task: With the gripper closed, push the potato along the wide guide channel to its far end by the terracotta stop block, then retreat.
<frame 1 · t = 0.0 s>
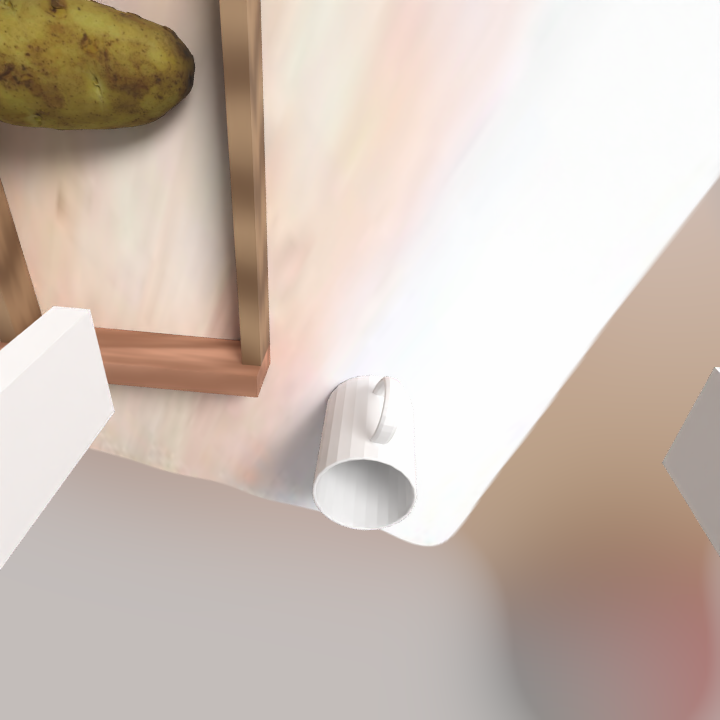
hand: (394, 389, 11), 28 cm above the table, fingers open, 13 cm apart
channel: (117, 161, 36), on the table
mug: (375, 389, 46), on the table
potato: (102, 64, 33), on the table
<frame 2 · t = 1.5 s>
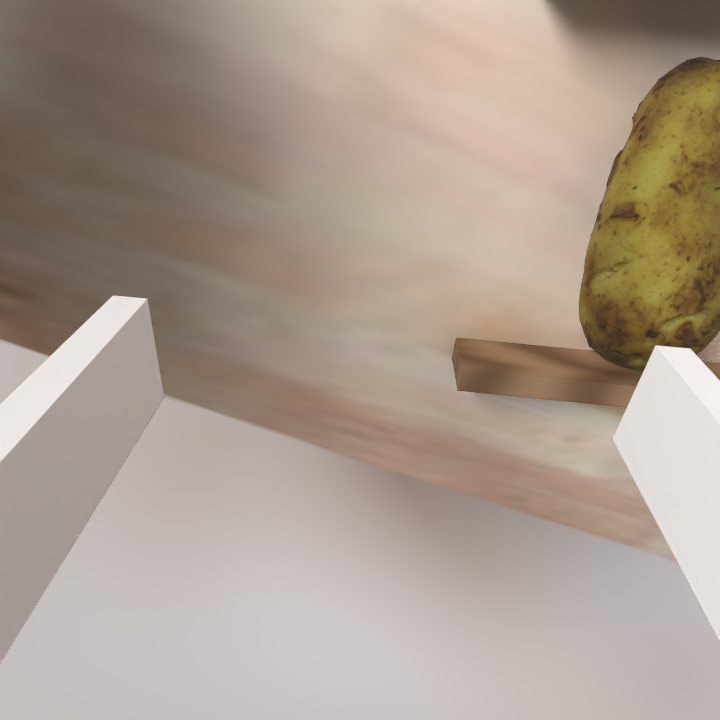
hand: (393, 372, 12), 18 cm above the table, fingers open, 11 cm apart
potato: (637, 204, 27), on the table
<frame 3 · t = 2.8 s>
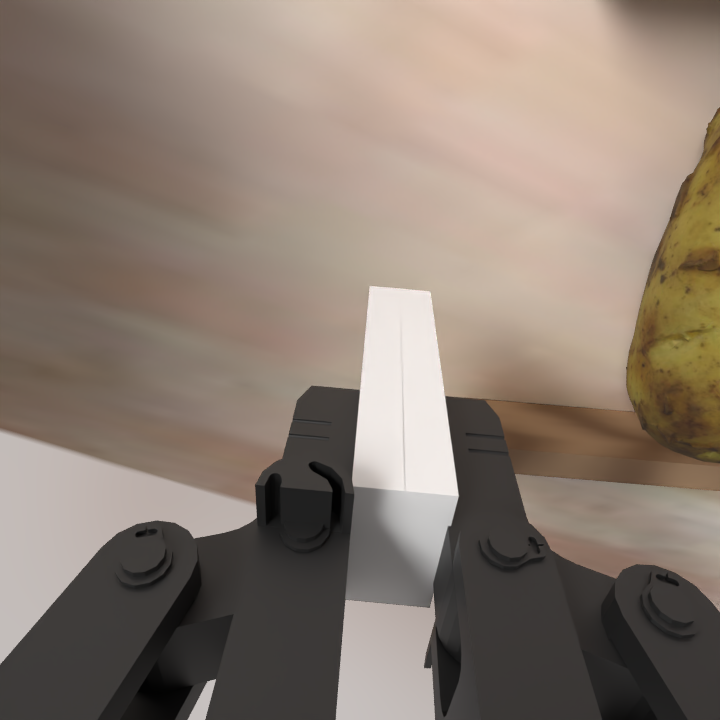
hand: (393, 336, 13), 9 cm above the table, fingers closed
potato: (697, 236, 21), on the table
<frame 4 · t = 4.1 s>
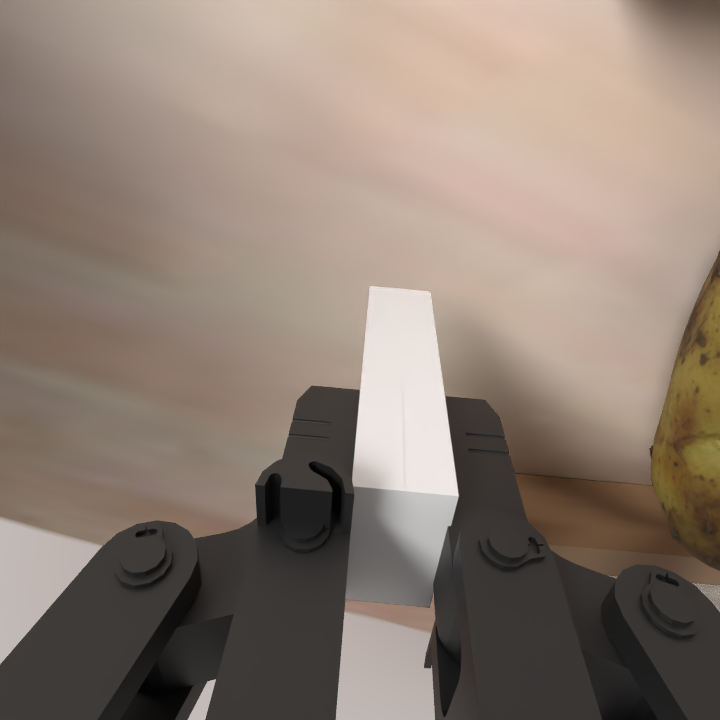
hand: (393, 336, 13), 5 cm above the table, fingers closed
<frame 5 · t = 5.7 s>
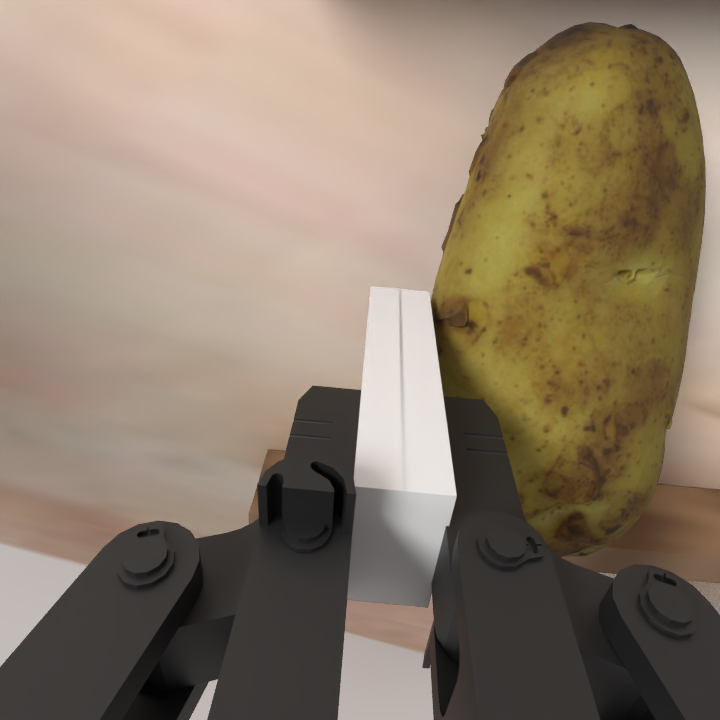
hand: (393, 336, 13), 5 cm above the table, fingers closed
channel: (682, 286, 17), on the table
potato: (528, 267, 17), on the table, touching gripper
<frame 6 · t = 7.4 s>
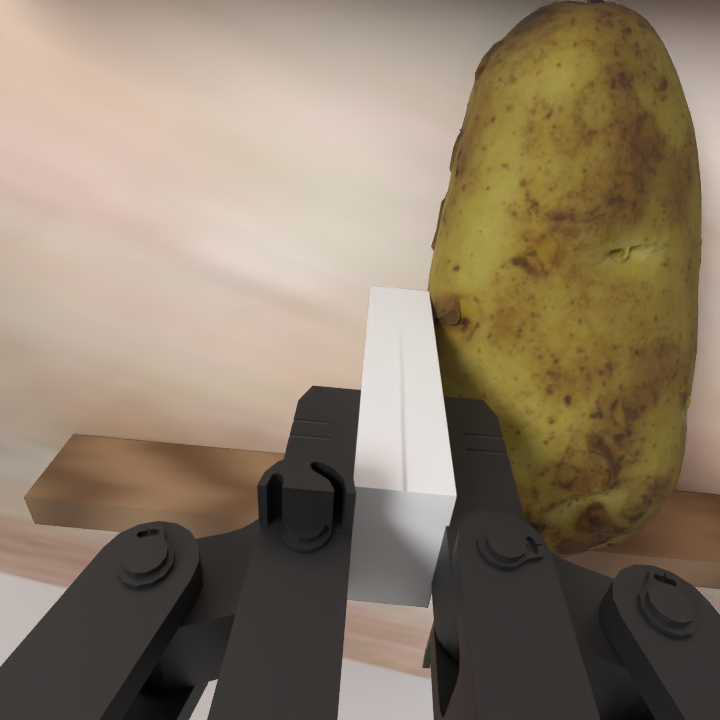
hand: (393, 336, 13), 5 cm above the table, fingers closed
channel: (429, 268, 17), on the table
potato: (530, 255, 17), on the table, touching gripper
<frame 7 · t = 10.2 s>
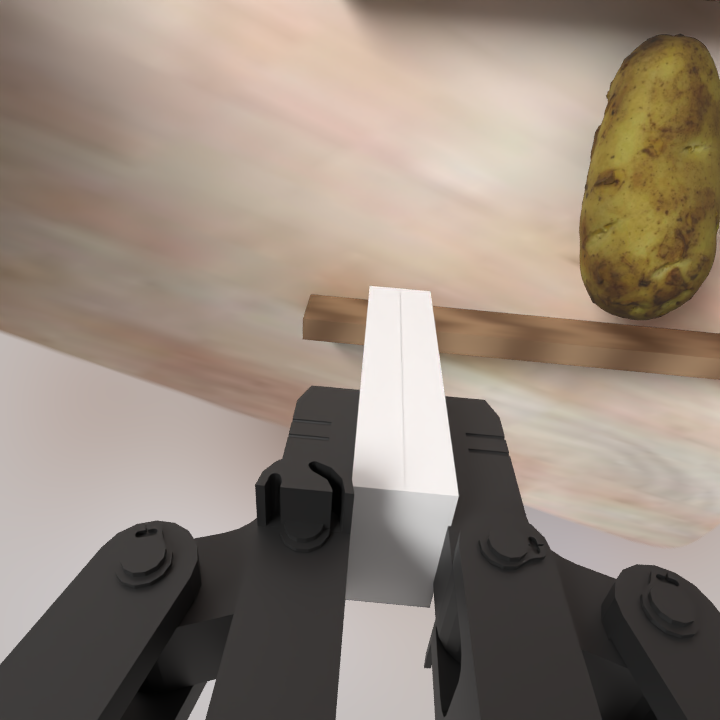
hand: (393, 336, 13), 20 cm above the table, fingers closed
channel: (551, 178, 30), on the table
potato: (625, 170, 30), on the table
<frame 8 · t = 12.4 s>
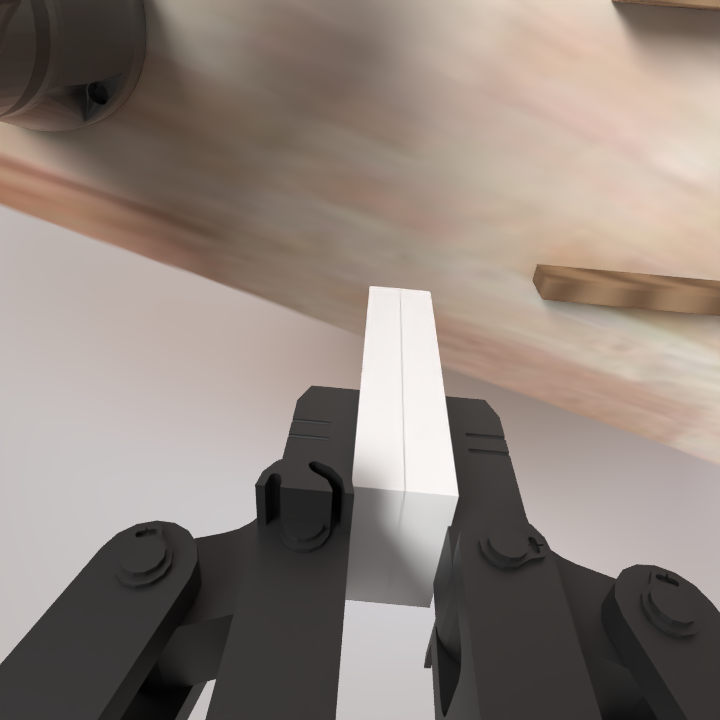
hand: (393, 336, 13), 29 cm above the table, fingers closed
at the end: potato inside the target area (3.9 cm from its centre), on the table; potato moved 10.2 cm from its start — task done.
